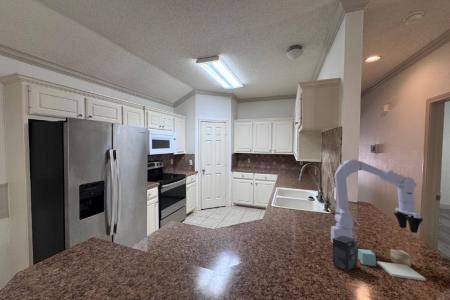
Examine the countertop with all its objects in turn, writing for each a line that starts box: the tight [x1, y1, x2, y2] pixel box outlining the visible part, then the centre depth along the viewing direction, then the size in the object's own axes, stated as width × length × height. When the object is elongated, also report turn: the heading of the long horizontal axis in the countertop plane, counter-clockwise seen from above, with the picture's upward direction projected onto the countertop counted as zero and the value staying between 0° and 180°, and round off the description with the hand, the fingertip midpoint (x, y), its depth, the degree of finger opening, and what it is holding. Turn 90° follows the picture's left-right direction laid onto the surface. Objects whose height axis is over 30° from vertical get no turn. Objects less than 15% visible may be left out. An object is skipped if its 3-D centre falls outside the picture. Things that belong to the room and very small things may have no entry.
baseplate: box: [376, 261, 426, 282], centre depth 73 cm, size 10×10×1 cm
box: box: [332, 235, 358, 272], centre depth 76 cm, size 8×6×11 cm
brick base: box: [390, 248, 412, 267], centre depth 80 cm, size 4×4×4 cm
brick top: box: [357, 248, 377, 267], centre depth 80 cm, size 4×4×4 cm
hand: (408, 230), depth 93 cm, fingers open, 7 cm apart
